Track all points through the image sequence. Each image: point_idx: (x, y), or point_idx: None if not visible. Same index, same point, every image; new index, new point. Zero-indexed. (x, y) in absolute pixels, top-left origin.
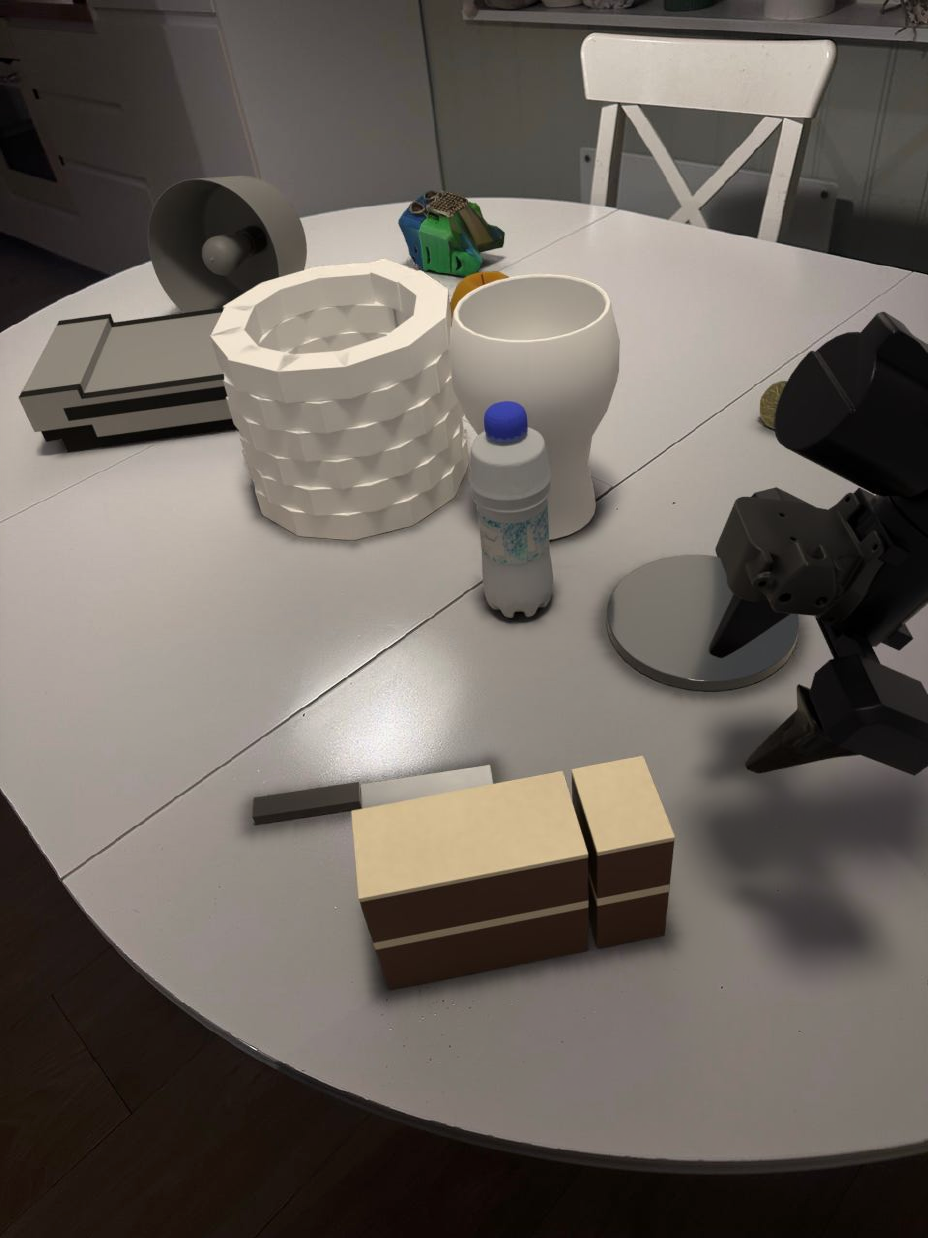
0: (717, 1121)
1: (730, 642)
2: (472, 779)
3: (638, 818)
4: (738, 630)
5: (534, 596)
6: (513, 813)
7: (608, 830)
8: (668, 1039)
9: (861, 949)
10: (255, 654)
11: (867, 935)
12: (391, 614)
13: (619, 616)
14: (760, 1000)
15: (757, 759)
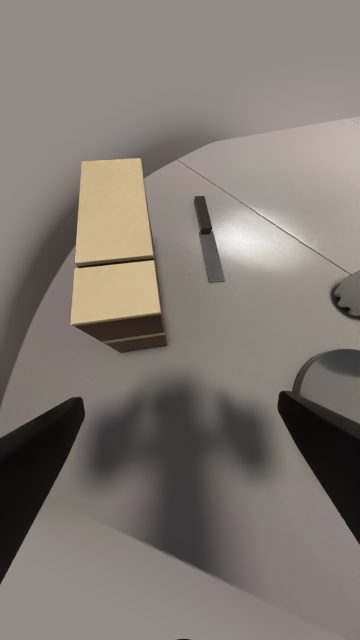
0: (28, 361)
1: (301, 427)
2: (215, 272)
3: (95, 299)
4: (327, 449)
5: (355, 299)
6: (120, 224)
7: (90, 277)
8: (70, 346)
9: (91, 469)
10: (285, 194)
11: (98, 477)
12: (323, 240)
13: (351, 357)
14: (76, 395)
15: (44, 413)
